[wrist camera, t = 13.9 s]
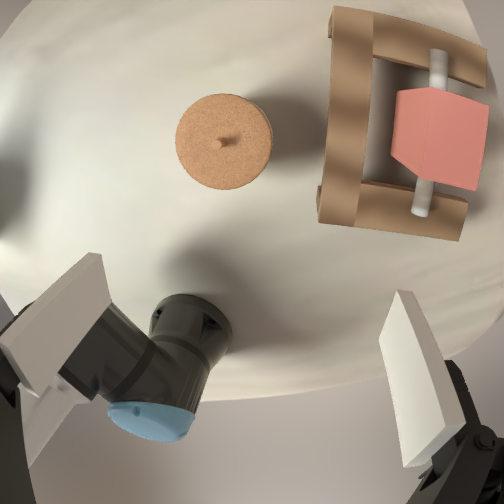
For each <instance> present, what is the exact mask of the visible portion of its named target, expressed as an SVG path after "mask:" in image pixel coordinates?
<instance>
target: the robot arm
mask: <svg viewBox="0 0 504 504" xmlns="http://www.w3.org/2000/svg"><path fill="white" fill-rule="evenodd" d="M231 338H232V331H231V327H230V324H229V322H228V320H227V319H226V317H225V316H224V315H223V314H222V313H221V312H220V311H219V310H218V309H217V308H216V307H215V306H213V305H212V304H210V303H208V302H207V301H205V300H202V299H200V298H197V297H194V296H189V295H173V296H169V297H167V298H165V299H163V300H162V301H161V302H160V303H159V304H158V306H157V307H156V309H155V310H154V312H153V314H152V317H151V321H150V328H149V335H148V337H147V336H146V335H145V334H144V333H143V332H142V331H141V330H140V329H139V328H138V327H137V326H136V325H135V324H134V323H133V322H132V321H131V320H130V319H129V318H128V317H127V316H126V315H125V314H124V313H123V312H122V311H121V310H120V309H119V308H118V307H117V306H116V305H115V304H114V303H113V302H112V299H111V298H110V294H109V289H108V285H107V280H106V276H105V271H104V266H103V261H102V256H101V254H96V253H90V252H89V253H88V254H86V255H85V256H84V257H83V258H82V259H81V260H79V261H78V262H77V263H76V264H75V265H74V266H73V267H71V268H70V269H69V270H68V271H67V272H66V273H65V274H64V275H62V276H61V277H60V278H59V279H58V280H57V281H56V282H55V283H54V284H53V285H51V286H50V287H49V288H48V289H47V290H46V291H45V292H44V293H43V294H42V295H41V296H40V297H39V298H38V299H37V300H36V301H34V302H32V303H30V304H28V305H27V306H25V307H24V308H23V309H22V310H21V311H20V312H19V313H18V315H16V316H15V317H14V318H13V320H12V321H10V322H9V323H8V324H7V326H5V328H3V330H2V331H1V332H0V504H36V501H35V497H34V493H33V488H32V484H31V479H30V474H29V467H30V466H31V465H32V463H33V462H34V460H35V459H36V457H37V456H38V455H39V453H40V452H41V450H42V449H43V447H44V446H45V445H46V443H47V442H48V440H49V439H50V438H51V436H52V435H53V434H54V432H55V431H56V429H57V428H58V427H59V425H60V424H61V422H62V421H63V420H64V418H65V417H66V416H67V414H68V413H69V412H70V410H71V409H72V407H73V406H74V405H75V404H78V403H90V402H91V401H92V400H93V399H94V397H95V396H96V395H97V394H100V395H101V396H102V397H103V398H105V399H106V400H107V401H108V402H110V404H109V406H108V416H109V417H110V418H111V419H112V421H113V422H114V423H115V424H117V425H118V426H120V427H121V428H123V429H124V430H126V431H128V432H130V433H132V434H135V435H137V436H140V437H143V438H146V439H150V440H154V441H160V442H174V441H178V440H181V439H182V438H184V437H185V435H187V432H188V430H189V428H190V426H191V424H192V422H193V421H194V419H195V413H196V411H197V408H198V405H199V402H200V399H201V396H202V393H203V390H204V387H205V384H206V381H207V378H208V375H209V373H210V370H211V369H212V368H213V367H214V366H215V365H216V364H217V363H218V362H219V360H220V359H221V358H222V357H223V356H224V355H225V354H226V352H227V350H228V348H229V345H230V342H231ZM379 343H380V347H381V351H382V355H383V359H384V363H385V368H386V372H387V377H388V381H389V386H390V390H391V395H392V400H393V405H394V411H395V416H396V422H397V427H398V433H399V439H400V446H401V452H402V460H403V466H404V467H413V466H419V465H423V464H424V463H426V462H427V461H428V460H429V459H430V458H432V464H433V465H432V466H431V467H430V468H429V469H428V470H426V471H425V472H424V473H422V474H421V475H420V477H419V479H421V478H423V477H424V478H423V479H422V481H421V483H420V484H419V486H418V487H417V489H416V490H415V492H414V493H413V495H412V496H411V498H410V499H409V500H408V502H407V503H406V504H504V438H498V437H497V436H496V435H495V433H494V431H493V430H492V429H490V428H489V427H487V426H484V425H481V423H480V420H479V417H478V414H477V411H476V409H475V406H474V403H473V400H472V398H471V395H470V392H468V387H467V385H466V383H465V380H464V377H463V375H462V372H461V370H460V369H459V368H458V366H457V365H456V364H455V363H454V362H453V361H452V360H443V357H442V355H441V352H440V350H439V348H438V345H437V343H436V341H435V338H434V336H433V334H432V332H431V329H430V327H429V325H428V323H427V321H426V318H425V316H424V314H423V312H422V310H421V308H420V306H419V304H418V302H417V300H416V298H415V296H414V294H413V292H412V291H401V290H397V291H396V294H395V297H394V300H393V302H392V305H391V308H390V311H389V313H388V316H387V319H386V321H385V324H384V326H383V329H382V331H381V334H380V336H379ZM500 488H501V490H500Z"/></svg>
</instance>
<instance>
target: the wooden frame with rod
mask: <svg viewBox="0 0 504 504" xmlns="http://www.w3.org/2000/svg"><path fill="white" fill-rule="evenodd" d="M328 38H332V55H331V77H330V95H329V110H328V123H327V136H326V147H325V158H324V168H323V177H322V186H318V190H317V198H316V202H317V212H318V222H319V223H324V224H333V225H341V226H350V227H358V228H366V229H373V230H381V231H389V232H396V233H403V234H410V235H417V236H424V237H431V238H438V239H444V240H451V241H457V242H458V241H459V238H460V235H461V231H462V228H463V224H464V221H465V217H466V213H467V210H468V206H469V203H468V202H467V201H465V200H464V199H463V198H460V197H455V196H451V195H446V194H441V193H437V192H433V189H434V184H435V181H430V180H425V179H421V178H419V177H418V178H417V183H416V188H411V187H405V186H399V185H393V184H387V183H381V182H375V181H368V180H362V173H363V165H364V158H365V149H366V141H367V131H368V121H369V110H370V97H371V82H372V62H373V58H378V59H383V60H387V61H392V62H396V63H400V64H404V65H408V66H412V67H416V68H420V69H423V70H427V71H429V87H434V88H437V89H441V90H444V91H447V81H448V77H449V78H452V79H455V80H458V81H460V82H463V83H466V84H469V85H471V86H474V87H476V88H486V82H487V49H485V48H483V47H481V46H478V45H476V44H474V43H472V42H469V41H467V40H464V39H462V38H459V37H457V36H454V35H452V34H449V33H446V32H443V31H441V30H438V29H435V28H432V27H429V26H425V25H422V24H419V23H416V22H412V21H409V20H405V19H401V18H397V17H393V16H389V15H385V14H380V13H376V12H371V11H366V10H360V9H354V8H348V7H341V6H334V8H333V11H332V14H331V17H330V21H329V24H328Z"/></svg>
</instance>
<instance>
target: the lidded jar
mask: <svg viewBox="0 0 504 504" xmlns="http://www.w3.org/2000/svg"><path fill="white" fill-rule="evenodd" d="M175 144H176V151H177V155H178V158H179V160H180V163H181V164H182V166H183V168H184V169H185V170H186V172H187V173H188V174H189V175H190V176H191V177H192V178H193V179H195V180H196V181H198V182H199V183H201V184H203V185H205V186H207V187H210V188H214V189H221V190H229V189H235V188H239V187H242V186H244V185H246V184H248V183H250V182H251V181H253V180H254V179H255V178H256V177H257V176H258V175H259V174H260V173H261V172H262V171H263V169H264V168H265V167H266V165H267V163H268V161H269V159H270V155H271V152H272V146H273V132H272V128H271V125H270V122H269V120H268V118H267V117H266V115H265V114H264V112H263V111H262V110H261V109H260V108H259V107H258V106H257V105H256V104H254V103H252V102H251V101H249V100H247V99H245V98H243V97H240V96H237V95H232V94H214V95H210V96H207V97H204V98H202V99H200V100H198V101H197V102H195V103H194V104H193V105H191V106H190V107H189V108H188V109H187V111H186V112H185V113H184V114H183V116H182V118H181V119H180V121H179V124H178V127H177V131H176V138H175Z"/></svg>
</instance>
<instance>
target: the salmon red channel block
mask: <svg viewBox="0 0 504 504" xmlns="http://www.w3.org/2000/svg"><path fill="white" fill-rule="evenodd" d="M488 115H489V106H487V105H484V104H482V103H479V102H477V101H474V100H471V99H468V98H465V97H463V96H460V95H457V94H454V93H450V92H447V91H444V90H441V89H437V88H434V87H426V88H417V89H409V90H402V91H397V95H396V108H395V118H394V128H393V137H392V145H391V152H390V155H391V156H393V157H394V158H395V159H397V160H398V161H399V162H401V163H402V164H403V165H404V166H406V167H407V168H408V169H409V170H411V171H412V172H413V173H414V174H416V175H417V176H418V177H419V178H421V179H425V180H430V181H435V182H439V183H443V184H448V185H452V186H456V187H460V188H464V189H468V190H472V191H475V192H476V190H477V185H478V180H479V175H480V170H481V165H482V159H483V154H484V147H485V140H486V133H487V125H488Z"/></svg>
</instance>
